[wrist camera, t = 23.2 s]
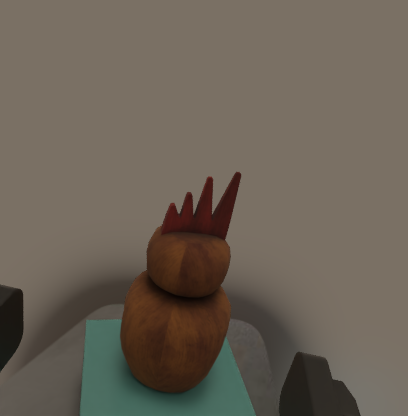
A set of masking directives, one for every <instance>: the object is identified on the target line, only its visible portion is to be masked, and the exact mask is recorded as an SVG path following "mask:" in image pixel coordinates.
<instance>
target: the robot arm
mask: <svg viewBox="0 0 408 416" xmlns="http://www.w3.org/2000/svg"><path fill="white" fill-rule="evenodd" d="M22 335H23V292H22V290H21V289H17V288H13V287H8V286H4V285H0V371H1V370H2V369H3V368H4V366H5V365H6V364H7V362H8V361H9V360H10V358H11V357H12V356H13V354H14V353H15V351H16V350H17V348H18V346H19V344H20V342H21V339H22ZM279 413H280V416H360V413H359V410H358V407H357V403H356V400H355V399H354V397H353V396H352V394H351V393H350V392H349V390H348V389H347V387H346V386H345V384H344V383H343V382H342V381H338V380H333V379H332V376H331V372H330V369H329V365H328V362H327V360H326V359H325V358H324V357H320V356H316V355H311V354H307V353H302V352H298V353H297V354H296V355H295V357H294V360H293V363H292V365H291V368H290V370H289V373H288V375H287V378H286V380H285V383H284V385H283V388H282V391H281V395H280V403H279Z"/></svg>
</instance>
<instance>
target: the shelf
mask: <svg viewBox="0 0 408 416" xmlns="http://www.w3.org/2000/svg"><path fill="white" fill-rule="evenodd" d="M121 322H122V319H118V320H87V321H86V331H85V345H84V358H83V372H82V385H81V399H80V413H79V416H256V414H255V411H254V409H253V406H252V404H251V401H250V398H249V396H248V393H247V390H246V388H245V385H244V382H243V380H242V377H241V375H240V372H239V369H238V367H237V364H236V361H235V359H234V356H233V353H232V351H231V348H230V346H229V343H228V340H227V338H226V337H225V340H224V343H223V346H222V348H221V351H220V353H219V355H218V357H217V359H216V361H215V363H214V364H213V366H212V368H211V370H210V371H209V373H208V375H207V376H206V377H205V378H204V379H203V380H202V381H201V382H200V383H199V384H198V385H197V386H195V387H194V388H192V389H190V390H187V391H185V392H181V393H168V392H163V391H158V390H155V389H153V388H150V387H148V386H146V385H144V384H143V383H141V382H140V381H139V380H138V379H136V378H135V377H134V375H133V373H132V372H131V370H130V368H129V366H128V364H127V362H126V359H125V357H124V354H123V351H122V348H121V340H120V331H121Z"/></svg>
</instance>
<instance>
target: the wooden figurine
mask: <svg viewBox="0 0 408 416" xmlns="http://www.w3.org/2000/svg"><path fill="white" fill-rule="evenodd" d="M240 179H241V173H240V172H236V173H235V175H234V176H233V178H232V180H231V182H230V184H229V185H228V187H227V189H226V191H225V193H224V194H223V196H222V198H221V200H220V202H219V204H218V205H217V207H216V209H215V211H214V213H213V214H212V193H213V178H212V177H208V178H207V180H206V183H205V186H204V188H203V191H202V194H201V197H200V200H199V202H198V205H197V208H196V211H195V213H194V215H193V199H192V194H191V192H187V194H186V197H185V200H184V203H183V206H182V209H181V212H180V214H178V212H177V209H176V206H175V204H174V203H171V204H170V206H169V208H168V211H167V213H166V216H165V219H164V221H163V224H162V226H160V227H158V228H157V229H156V231H155V232H154V234H153V236H152V238H151V239H150V241H149V244H148V248H147V270H146V271H144V272H142V273H141V274H140V275H139V276H138V277H137V278H135V280H134V282H133V283H132V285H131V287H130V289H129V291H128V293H127V295H126V298H125V305H124V312H123V317H122V322H121V331H120V340H121V348H122V351H123V354H124V357H125V359H126V362H127V364H128V366H129V368H130V370H131V372H132V373H133V375H134V377H135V378H136V379H138V380H139V381H140V382H141V383H143V384H144V385H146V386H148V387H150V388H153V389H155V390H158V391H163V392H168V393H181V392H185V391H187V390H190V389H192V388H194V387H195V386H197V385H198V384H199V383H200V382H201V381H202V380H203V379H204V378H205V377H206V376H207V375H208V373H209V371H210V370H211V368H212V366H213V364H214V363H215V361H216V359H217V357H218V355H219V353H220V351H221V348H222V346H223V343H224V340H225V337H226V333H227V330H228V326H229V321H230V317H231V314H230V313H231V305H230V303H229V301H228V298H227V296H226V294H225V292H224V290H223V288H222V287H221V286H220V285H221V284H222V282H223V281H224V278H225V276H226V274H227V271H228V268H229V263H230V257H231V256H230V247H229V246H228V244H227V242H226V241H225V238H226V235H227V231H228V228H229V224H230V220H231V216H232V212H233V208H234V204H235V200H236V195H237V191H238V187H239V183H240Z"/></svg>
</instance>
